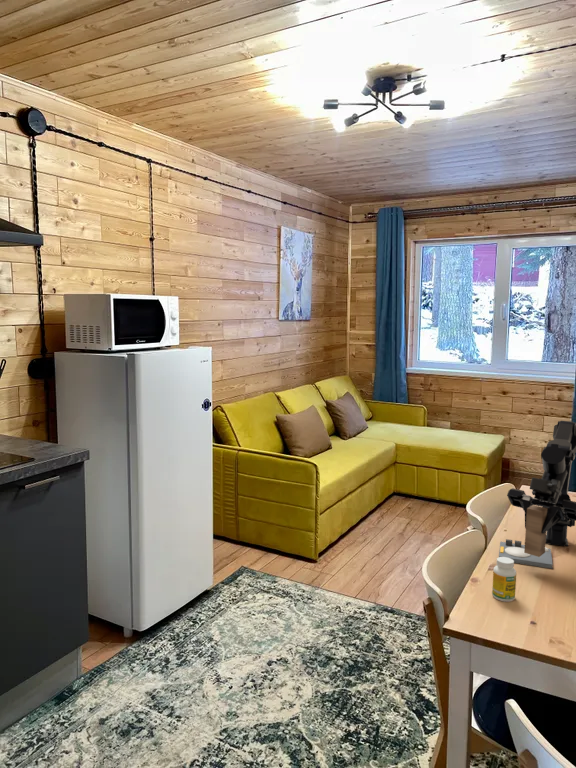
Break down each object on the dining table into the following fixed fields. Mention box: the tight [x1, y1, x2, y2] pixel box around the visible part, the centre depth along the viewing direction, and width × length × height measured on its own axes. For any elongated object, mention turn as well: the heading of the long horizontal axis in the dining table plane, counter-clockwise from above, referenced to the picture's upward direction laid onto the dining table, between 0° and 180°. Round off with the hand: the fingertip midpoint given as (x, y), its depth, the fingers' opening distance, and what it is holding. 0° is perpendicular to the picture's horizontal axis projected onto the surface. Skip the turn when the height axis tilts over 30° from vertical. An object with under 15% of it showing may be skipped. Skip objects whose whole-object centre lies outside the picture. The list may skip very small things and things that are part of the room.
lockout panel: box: [498, 538, 553, 570], centre depth 167 cm, size 12×14×3 cm
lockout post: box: [524, 505, 548, 557], centre depth 156 cm, size 4×4×12 cm
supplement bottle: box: [491, 556, 517, 603], centre depth 142 cm, size 5×5×10 cm
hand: (534, 530), depth 155 cm, fingers closed on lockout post, 4 cm apart
